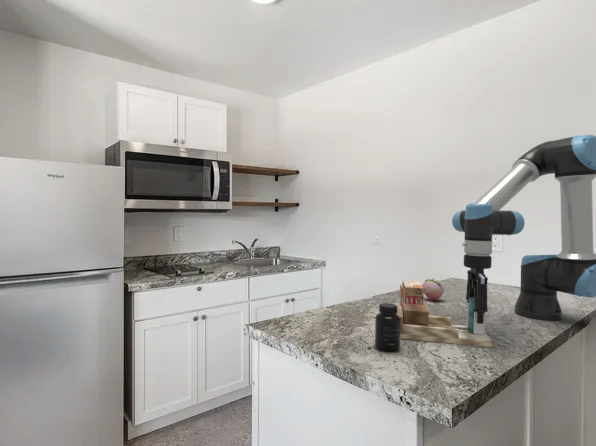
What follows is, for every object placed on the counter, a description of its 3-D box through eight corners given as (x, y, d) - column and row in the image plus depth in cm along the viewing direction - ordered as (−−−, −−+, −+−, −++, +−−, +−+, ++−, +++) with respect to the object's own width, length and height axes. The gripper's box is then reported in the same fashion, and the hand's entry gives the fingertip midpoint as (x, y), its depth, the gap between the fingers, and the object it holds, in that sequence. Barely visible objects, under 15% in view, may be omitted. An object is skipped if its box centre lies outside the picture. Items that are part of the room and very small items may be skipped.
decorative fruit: (448, 301, 158) (448, 278, 157) (436, 303, 153) (437, 280, 153) (429, 297, 165) (430, 275, 165) (418, 299, 161) (418, 276, 160)
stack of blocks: (399, 306, 148) (400, 276, 148) (415, 307, 147) (416, 277, 146) (404, 321, 127) (405, 286, 127) (423, 322, 126) (424, 287, 125)
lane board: (479, 331, 116) (480, 311, 116) (492, 347, 103) (493, 324, 102) (395, 324, 122) (396, 305, 122) (397, 338, 109) (397, 316, 108)
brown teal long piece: (478, 327, 114) (479, 296, 114) (486, 337, 105) (487, 302, 105) (402, 321, 119) (403, 291, 119) (404, 329, 110) (404, 297, 110)
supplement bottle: (371, 343, 104) (372, 301, 103) (394, 343, 104) (395, 301, 104) (379, 352, 97) (380, 308, 97) (403, 352, 97) (405, 308, 97)
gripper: (457, 250, 120) (455, 318, 121) (472, 257, 100) (469, 339, 101) (482, 251, 119) (479, 320, 119) (502, 259, 98) (499, 342, 99)
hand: (475, 329), depth 110 cm, fingers open, 8 cm apart
